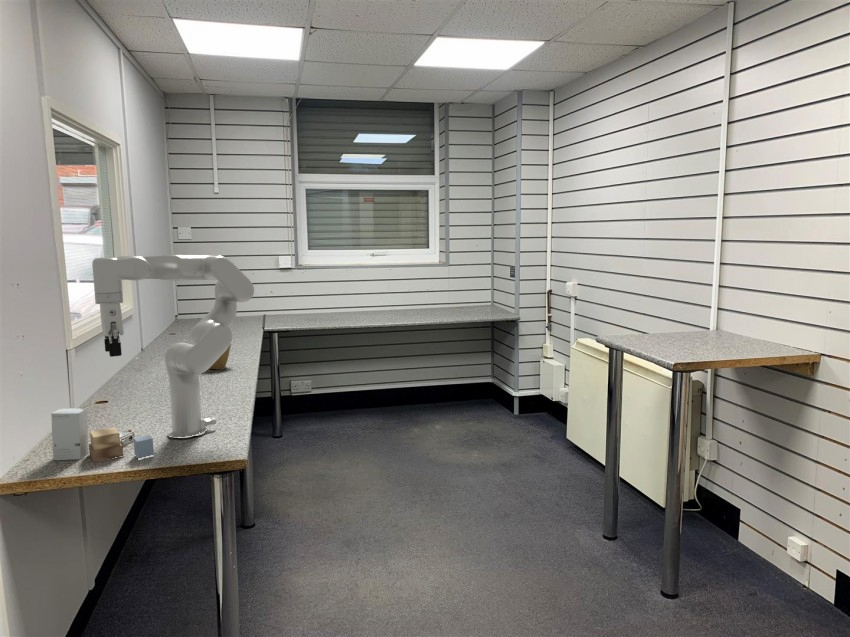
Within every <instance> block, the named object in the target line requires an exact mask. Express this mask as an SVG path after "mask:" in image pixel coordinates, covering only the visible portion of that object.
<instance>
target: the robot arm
mask: <svg viewBox="0 0 850 637" xmlns="http://www.w3.org/2000/svg"><path fill="white" fill-rule="evenodd" d="M91 264H92V278H93V288H94V289H93V290H94V303H95V305H99V310H100V312H99V313H100V320H101V321H100V322H101V329H102V333H103V334H104V339H103V340H104V351H105V352H109V357H111V358H112V357H121V356H122V342H121V338H120V336H123V335H124V334H125V333H124V332H125V330H124V323H123V315H122V308H121V306H122V305H121V304H122V303H123V304H124V296H123V281H135V282H138V281H142V280H159V281H170V282H171V281H172V282H174V281H177V282H180V281H181V282H182V281H183V282H184V281H216V283H215V285H214V297H215V300H214V305H213V307H212V308H211V310H210V311H209V312H207V314H206V315H205V316H204V317H203V318H202V319H201V320H200V321H199V322H198V323H197V324H195V326H194V327H192V329H191V331H190V334H189V338H190V342H191V343H192V344H191V343H187V342H176V343H173V344H171V345H170V346H169V347H168V348H167V349H166V351H165V355H164V363H165V368H166V372H167V376H168V386H169V400H170V402H169V403H170V412H171V413H170V416H171V429H170V430H168V431H167V436H168V435H169V436H172V437H185V436H192V435H196V434H199V432H200V433H202V432H204V431H205V430H206V429H207V430H208V426H211V425H216V424H217V420H216V418H209V417H208V418H203V417H202V406H201V390H200V388H201V387H200V385H201V384H200V379H199V375H201V374H203V373H205V372H206V371H208V370H210V367H211V366H212V365H213V364H214V363H215V362H216V361H217V360H218V358H219V357H220V356H221V355H222V354H223V353H224V352H225V351H226V350H227V349H228V347H229V346H230V344H231V345H232V339H233V333H232V330H231V328H230V326H232V324H233V323H234V321H235V320H236V317H237V313H238V312H237V310H238V307H237V306H238V305H237V303H246V302H248V301H251V299H252V298H253V296H254V295H255V294H254V293H255V287H254V285H253V283H252V281H251V280H250V279H249V277H247V276H246V275H245V274H244V273H243V272H242V270H240V269H239V267H237V266H236V265H235V263H233V262H232V261H231V260H230V259H229V258H227V257H225V256H223V255H208V254H205V255H204V254H202V255H198V254H193V255H192V254H185V255H184V254H168V255H167V254H166V255H165V254H164V255H154V256H153V255H152V256H151V255H150V256H149V255H148V256H147V255H143V256H142V255H121V256H118V257H97V258H94V259H93V260H92V263H91ZM230 347H231V346H230ZM206 427H207V428H206Z"/></svg>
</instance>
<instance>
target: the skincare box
mask: <svg viewBox="0 0 850 637" xmlns="http://www.w3.org/2000/svg"><path fill="white" fill-rule="evenodd" d="M50 416H51V436H52V440H51V441H52V459H53V461H67V460H69V461H70V460H71V461H72V460H74V461H75V460H77V461H78V460H82V459H83V458H84V457H86V456H87V455H88V454H90V452H89V435H88V433H89V431H88V430H89V429H88V428H89V426H88V409H87V408H75V407H73V408H59V409H57V410H55V411H53V412H51V415H50Z"/></svg>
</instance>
